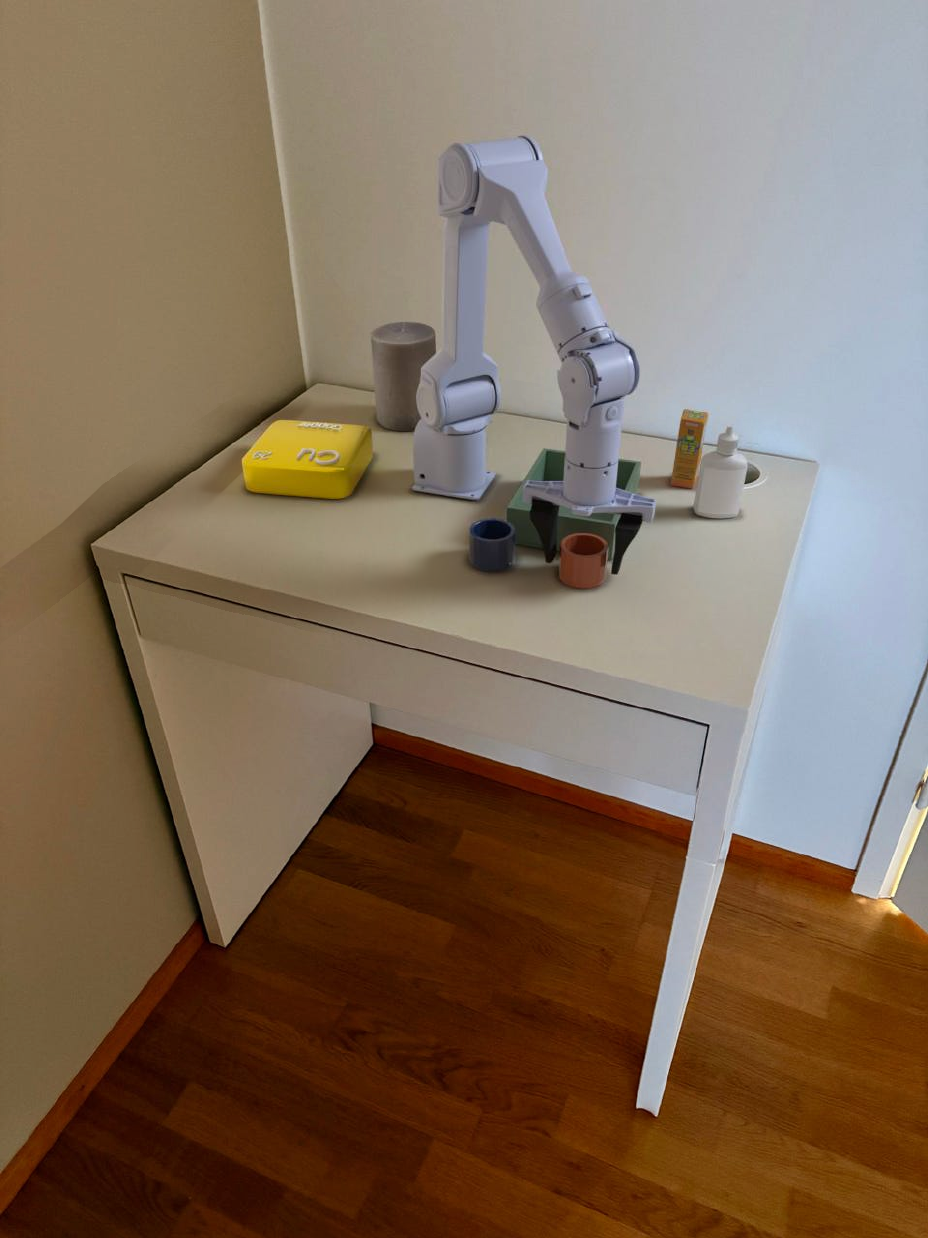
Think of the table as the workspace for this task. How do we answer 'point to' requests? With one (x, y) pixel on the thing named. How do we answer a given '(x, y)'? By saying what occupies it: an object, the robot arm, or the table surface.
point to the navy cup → (492, 544)
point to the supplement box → (689, 448)
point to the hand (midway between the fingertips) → (583, 564)
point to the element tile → (308, 459)
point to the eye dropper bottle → (721, 479)
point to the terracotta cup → (583, 560)
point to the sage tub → (598, 524)
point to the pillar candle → (400, 371)
